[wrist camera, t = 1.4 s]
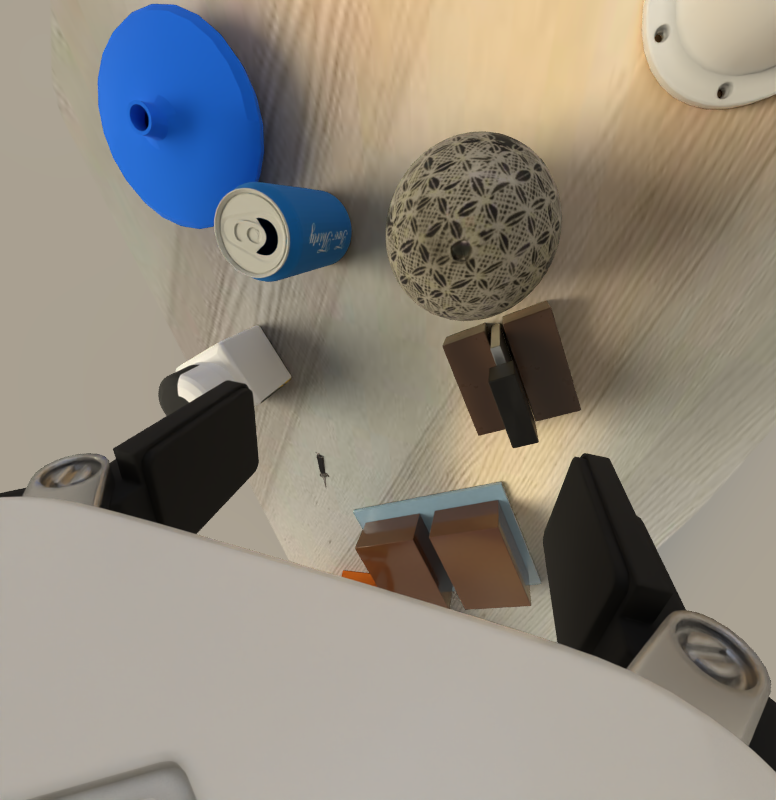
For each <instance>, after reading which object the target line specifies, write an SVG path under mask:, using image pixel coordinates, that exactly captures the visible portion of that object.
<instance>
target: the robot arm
mask: <svg viewBox="0 0 776 800" xmlns="http://www.w3.org/2000/svg"><path fill="white" fill-rule="evenodd" d="M656 35H661V41H660V42H659V43H658V42H656V41H655V39H654V38H655V36H656ZM642 38H643V46H644V53H645V56H646V59H647V61H648V64H649V67H650V70H651V72H652V73H653V75H654V77H655V78H656V80H657V81H658V83H659V84H660V86H661V87H662V88H664V89H665V90H666V91H667V92H668V93H669V94H670V95H671V96H673V97H674V98H676V99H678V100H680V101H682V102H684V103H686V104H688V105H691V106H696V107H700V108H705V109H729V108H734V107H739V106H744V105H749V104H752V103H755V102H757V101H760V100H763V99H765V98H768V97H770V96H773V95H775V94H776V0H645V1H644V5H643V17H642ZM718 90H721V91H722V96H721V98H718V96H717V91H718ZM113 450H114V454H115V457H116V459H115V460H114V461H112V462H111V463H109V460H108V459H107V458H106V457H105V456H102V455H99V454H91V453H88V454H77V455H72V456H68V457H64V458H62V459H59V460H56V461H54V462H52V463H50V464H48V465H46V466H44V467H43V468H41V469H40V470H38V471H37V472H36V473H35V474H34V476H33V477H32V478H31V480H30V482H29V484H28V486H27V488H23V489H18V490H13V491H9V492H4V493H0V800H776V702H774V701H773V700H772V699H771V698H770V697H769V695H770V689H771V680H770V677H769V675H768V672H767V670H766V667H765V666H764V664H763V663H762V661H761V660H760V658H759V657H758V656H757V654H756V653H755V652H754V651H753V650H752V649H751V648H750V647H749V646H748V645H747V643H746V642H745V641H744V640H743V639H741V638H740V637H739V636H738V635H736V634H735V633H734V632H733V631H731V630H730V629H729V628H727V627H725V626H724V625H722V624H721V623H719V622H717V621H716V620H714V619H712V618H710V617H707V616H705V615H703V614H700V613H697V612H692V611H687V610H686V609H685V607H684V605H683V603H682V601H681V599H680V597H679V595H678V593H677V591H676V589H675V587H674V585H673V582H672V580H671V579H670V576H669V574H668V572H667V570H666V568H665V566H664V564H663V562H662V560H661V558H660V556H659V554H658V552H657V550H656V547H655V545H654V543H653V541H652V539H651V537H650V535H649V533H648V531H647V529H646V527H645V525H644V523H643V521H642V520H641V518H639V517H638V516H636V514H635V512H634V510H633V507H632V505H631V503H630V501H629V499H628V497H627V495H626V493H625V491H624V488H623V486H622V484H621V482H620V480H619V478H618V476H617V474H616V472H615V469H614V467H613V465H612V463H611V461H610V459H609V458H606V457H601V456H596V455H591V454H586V453H584V454H583V455H582V456H581V457H580V458H579V457H574V458H573V460H572V462H571V464H570V467H569V469H568V472H567V475H566V477H565V480H564V482H563V485H562V488H561V490H560V493H559V495H558V498H557V501H556V503H555V506H554V508H553V511H552V514H551V516H550V519H549V521H548V524H547V527H546V529H545V532H544V537H543V547H544V553H545V560H546V567H547V574H548V581H549V588H550V594H551V601H552V608H553V615H554V622H555V629H556V635H557V642H558V643H557V642H553V641H550V640H547V639H544V638H541V637H538V636H535V635H532V634H528V633H525V632H522V631H519V630H516V629H513V628H509V627H506V626H503V625H500V624H497V623H494V622H491V621H487V620H484V619H481V618H478V617H475V616H471V615H468V614H465V613H461V612H458V611H455V610H451V609H448V608H445V607H441V606H438V605H435V604H431V603H428V602H425V601H421V600H418V599H415V598H411V597H408V596H405V595H401V594H398V593H395V592H391V591H388V590H385V589H381V588H378V587H375V586H372V585H368V584H365V583H361V582H358V581H355V580H351V579H348V578H344V577H341V576H338V575H334V574H331V573H328V572H324V571H321V570H317V569H314V568H311V567H307V566H304V565H300V564H297V563H294V562H290V561H287V560H283V559H280V558H276V557H273V556H270V555H266V554H263V553H260V552H256V551H253V550H249V549H246V548H242V547H239V546H235V545H232V544H228V543H225V542H222V541H218V540H215V539H211V538H208V537H204V536H201V535H197V533H198V532H199V531H200V529H202V527H203V526H204V525H205V524H206V523H207V522H208V521H209V520H210V519H211V518H212V517H213V516H214V515H215V513H217V512H218V510H219V509H220V508H221V507H222V506H223V505H224V504H225V503H226V502H227V501H228V500H229V499H230V498H231V497H232V496H233V495H234V494H235V492H236V491H237V490H238V489H239V488H240V487H241V486H242V485H243V484H244V483H245V482H246V481H247V480H248V479H249V478H250V477H251V476H252V475H253V473H254V472H255V471H256V469H257V467H258V463H259V459H258V447H257V435H256V423H255V411H254V400H253V392H252V390H250V389H249V388H248V386H247V385H246V384H244V383H240V382H235V381H230V380H227V381H224V382H223V383H221V384H219V385H218V386H216V387H214V388H213V389H211V390H209V391H208V392H206V393H204V394H203V395H201V396H199V397H198V398H196V399H194V400H193V401H191V402H189V403H188V404H186V405H184V406H183V407H181V408H180V409H178V410H176V411H175V412H173V413H171V414H170V415H168V416H166V417H165V418H163V419H162V420H160V421H158V422H156V423H155V424H153V425H152V426H150V427H148V428H146V429H145V430H144V431H142V432H140V433H138V434H137V435H135V436H133V437H132V438H130V439H128V440H127V441H125V442H123V443H122V444H120V445H118V446H117V447H115V448H114V449H113Z"/></svg>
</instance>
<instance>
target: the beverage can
mask: <svg viewBox="0 0 776 800" xmlns="http://www.w3.org/2000/svg"><path fill="white" fill-rule="evenodd" d="M214 231H215V237H216V241H217V244H218V246H219V249H220V251H221V253H222V254H223V256H224V257H225V259H226V260H227V261H228V263H229V264H230V265H231V266H232V267H233V268H235V269H236V270H237V271H239V272H240V273H242V274H244V275H246V276H249V277H252V278H254V279H257V280H260V281H266V282H272V281H278V280H281V279H284V278H288V277H291V276H294V275H298V274H301V273H304V272H308V271H311V270H315V269H318V268H321V267H325V266H328V265H331V264H334V263H336V262H337V261H339V260H340V259H341V258H342V257H343V256H344V254H345V253H346V251H347V249H348V247H349V245H350V241H351V233H352V231H351V222H350V218H349V215H348V213H347V211H346V209H345V207H344V206H343V204H342V203H341V202H340V201H339V200H338V199H337V198H336V197H335V196H333V195H332V194H330V193H328V192H325V191H321V190H314V189H307V188H299V187H292V186H285V185H277V184H270V183H263V182H248V183H244V184H242V185H240V186H238V187H236V188H235V189H234V190H233V191H231V192H229V193H228V194H226V195H225V196H224V197H223V199H222V200H221V201H220V203H219V205H218V207H217V209H216V213H215V218H214Z"/></svg>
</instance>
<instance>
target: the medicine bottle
mask: <svg viewBox="0 0 776 800" xmlns="http://www.w3.org/2000/svg"><path fill="white" fill-rule="evenodd" d="M227 380H230V381H235V382H240V383H244V384H246V385H247V386H248V388H249V389H250V390H252V392H253V400H254V407H255V406H257V405H259V404H261V403H262V402H263V401H264V400H266V399H267V398H268V397H269V396H271V395H272V394H273V393H274V392H276V391H277V390H278V389H279V388H281V387H282V386H283V385H284V384H286V383H287V382H288V381H289V380H291V375H290V373H289V372H288V370H287V369H286V367H285V365H284V364H283V362H282V361H281V359H280V358H279V356H278V354H277V353H276V351H275V350H274V348H273V346H272V345H271V343H270V342H269V340H268V339H267V337H266V335H265V334H264V332H263V331H262V329H261V327H260V326H258V325H255V326H253V327H251V328H249V329H247V330H244V331H242V332H240V333H238V334H236V335H234V336H231V337H229V338H227V339H225V340H223V341H220V342H218V343H217V344H215V345H213V346H212V347H210V348H208V349H207V350H205V351H203V352H202V353H200V354H198V355H197V356H195V357H193V358H192V359H190V360H189V361H187V362H185V363H184V364H182V365H180V366H179V367H177V368H176V372H175V373H173V374H171V375H169V376H167V377H166V378H164V380H163V381H162V382H161V384H160V387H159V402H160V405H161V407H162V409H163V411H164V413H165V414H166V416H168V415H170V414H171V413H173V412H175V411H176V410H178V409H180V408H181V407H183V406H184V405H186V404H188V403H189V402H191V401H193V400H194V399H196V398H198V397H199V396H201V395H203V394H204V393H206V392H208V391H209V390H211V389H213V388H214V387H216V386H218V385H219V384H221V383H223V382H224V381H227Z"/></svg>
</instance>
